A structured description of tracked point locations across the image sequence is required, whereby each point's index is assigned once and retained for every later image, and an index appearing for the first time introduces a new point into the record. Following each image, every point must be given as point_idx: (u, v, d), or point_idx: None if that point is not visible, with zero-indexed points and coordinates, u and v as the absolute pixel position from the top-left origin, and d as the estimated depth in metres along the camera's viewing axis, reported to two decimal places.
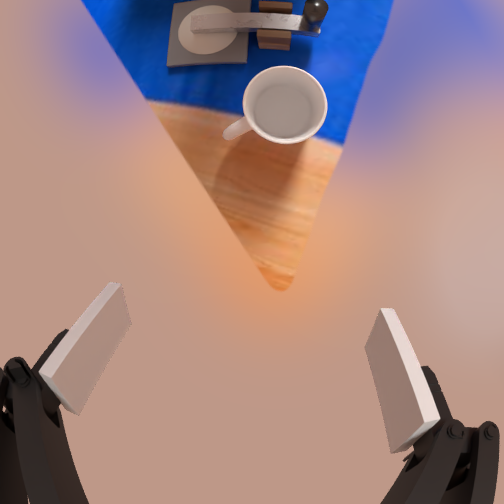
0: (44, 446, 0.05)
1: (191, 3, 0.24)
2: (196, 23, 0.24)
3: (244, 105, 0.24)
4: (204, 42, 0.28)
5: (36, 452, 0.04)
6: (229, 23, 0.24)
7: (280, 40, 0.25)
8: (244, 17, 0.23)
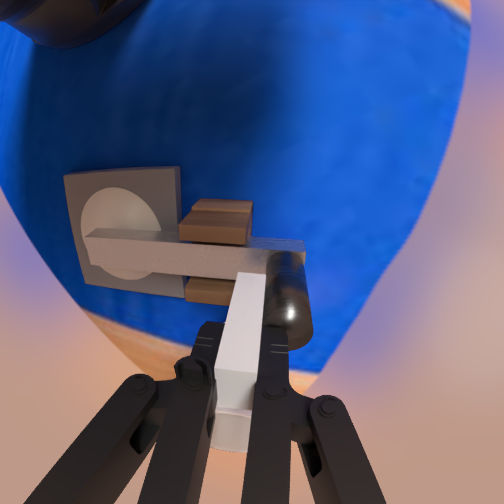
0: (193, 466, 0.05)
1: (85, 179, 0.19)
2: (95, 254, 0.18)
3: None
4: None
5: (179, 469, 0.05)
6: (142, 262, 0.18)
7: None
8: (163, 253, 0.18)
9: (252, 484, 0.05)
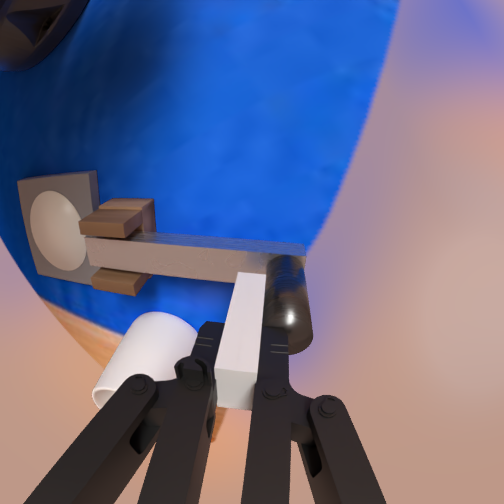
0: (193, 466, 0.05)
1: (31, 183, 0.19)
2: (94, 254, 0.18)
3: (98, 406, 0.18)
4: (58, 253, 0.22)
5: (179, 469, 0.05)
6: (142, 264, 0.18)
7: None
8: (163, 255, 0.18)
9: (252, 484, 0.05)
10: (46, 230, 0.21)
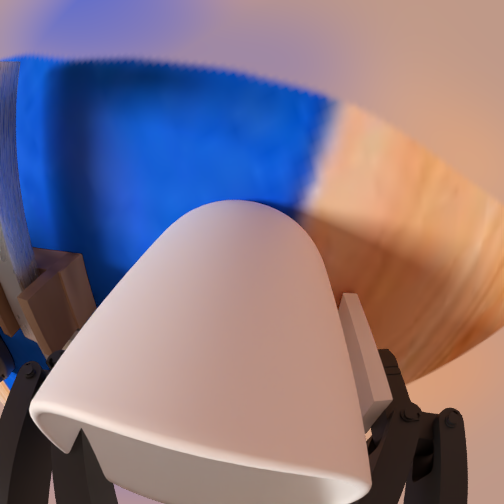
0: (82, 446, 0.05)
1: None
2: (32, 333, 0.12)
3: None
4: None
5: (72, 451, 0.05)
6: (10, 275, 0.10)
7: (47, 306, 0.11)
8: None
9: (369, 497, 0.04)
10: None
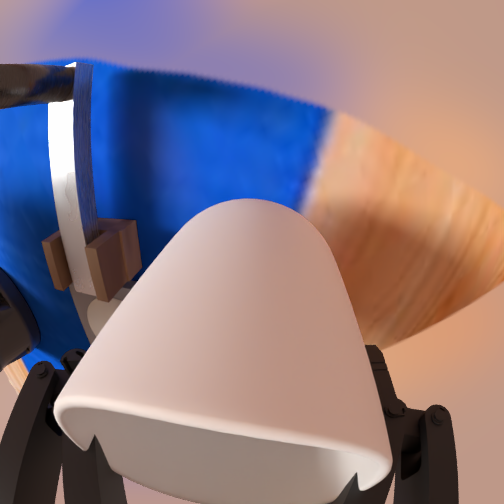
0: (95, 447, 0.05)
1: (91, 341, 0.25)
2: (85, 285, 0.17)
3: None
4: None
5: (84, 452, 0.05)
6: (76, 232, 0.15)
7: (109, 257, 0.16)
8: (62, 206, 0.14)
9: (355, 494, 0.04)
10: None
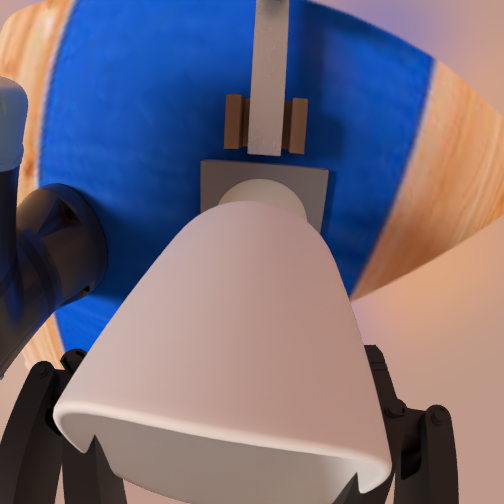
0: (95, 447, 0.05)
1: None
2: (267, 144, 0.19)
3: None
4: None
5: None
6: (275, 89, 0.17)
7: None
8: (263, 66, 0.16)
9: (355, 494, 0.04)
10: None
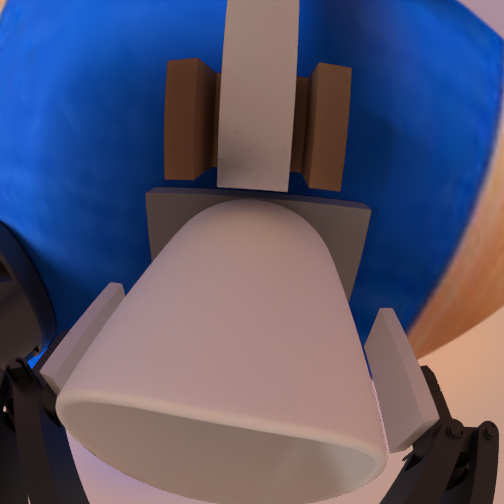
0: (45, 446, 0.05)
1: None
2: (258, 167, 0.09)
3: None
4: None
5: (37, 452, 0.04)
6: (276, 47, 0.07)
7: None
8: (250, 4, 0.06)
9: None
10: None
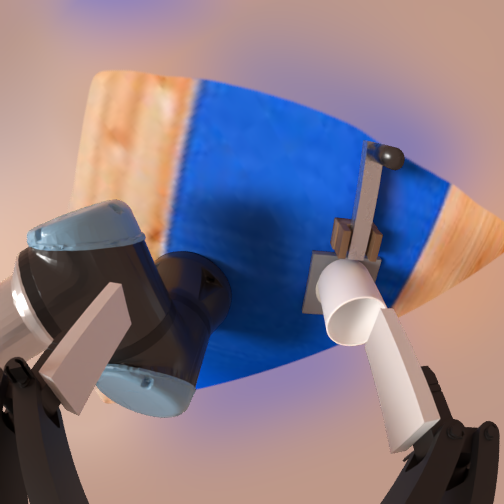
0: (44, 446, 0.05)
1: (308, 300, 0.43)
2: (357, 255, 0.35)
3: (352, 345, 0.33)
4: None
5: (36, 452, 0.04)
6: (366, 226, 0.33)
7: None
8: (362, 213, 0.33)
9: None
10: None
